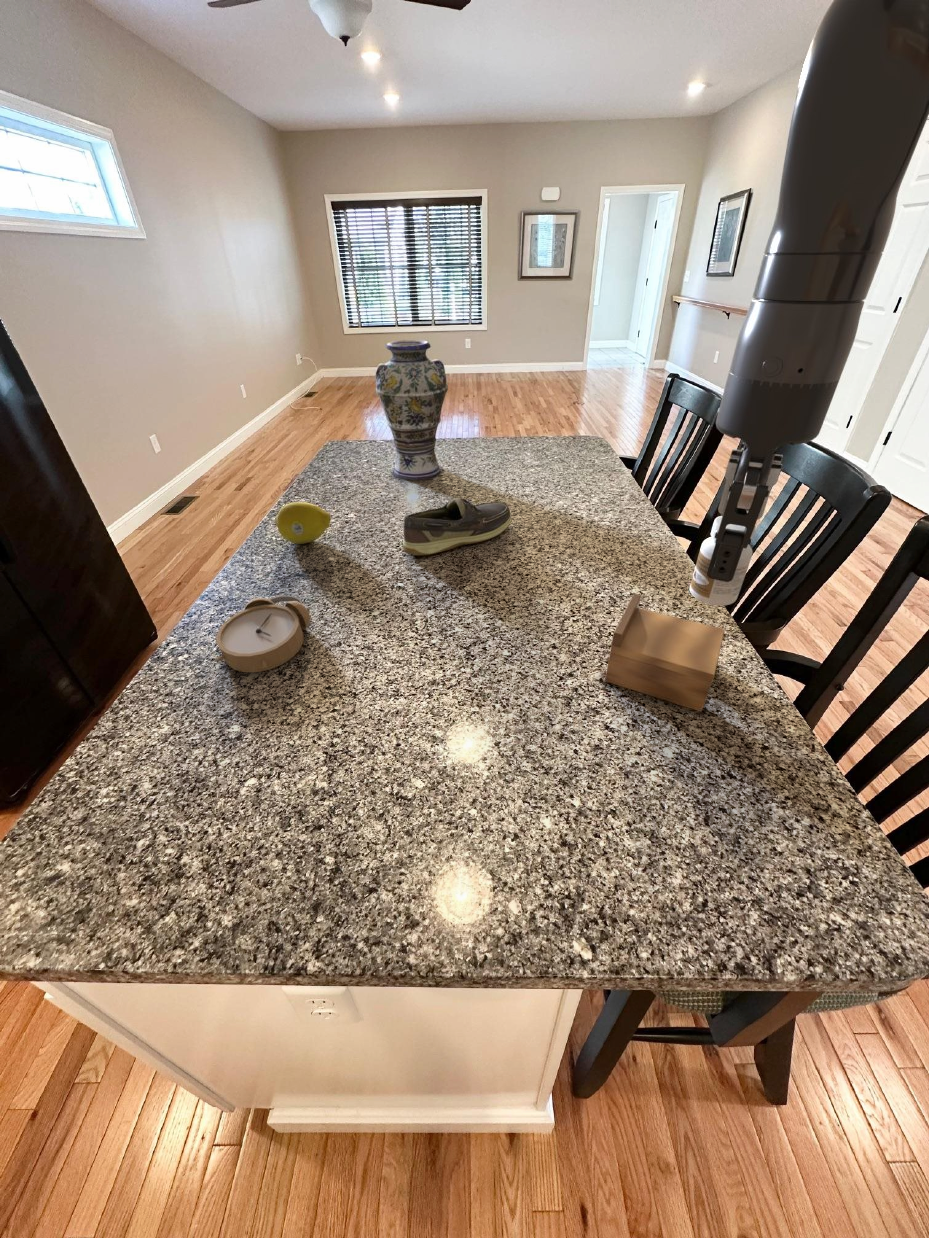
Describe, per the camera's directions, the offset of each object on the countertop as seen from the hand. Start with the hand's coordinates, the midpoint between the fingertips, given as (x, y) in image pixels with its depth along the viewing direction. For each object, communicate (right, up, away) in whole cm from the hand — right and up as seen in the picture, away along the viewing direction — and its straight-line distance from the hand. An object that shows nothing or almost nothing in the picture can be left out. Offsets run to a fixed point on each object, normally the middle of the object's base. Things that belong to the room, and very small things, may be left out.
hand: (721, 565), depth 49 cm
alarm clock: (-53, -8, +27) cm, 60 cm away
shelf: (+2, -12, +20) cm, 23 cm away
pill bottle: (0, -3, +2) cm, 4 cm away
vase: (-37, +33, +86) cm, 99 cm away
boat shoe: (-25, +11, +53) cm, 60 cm away
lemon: (-56, +10, +53) cm, 78 cm away
